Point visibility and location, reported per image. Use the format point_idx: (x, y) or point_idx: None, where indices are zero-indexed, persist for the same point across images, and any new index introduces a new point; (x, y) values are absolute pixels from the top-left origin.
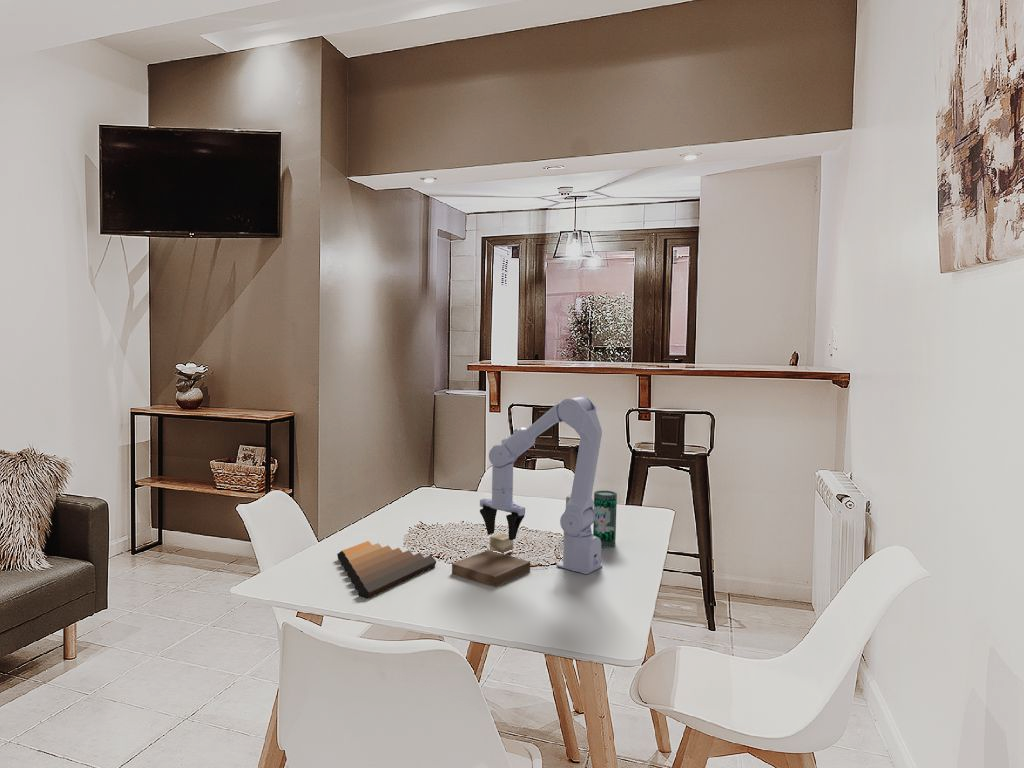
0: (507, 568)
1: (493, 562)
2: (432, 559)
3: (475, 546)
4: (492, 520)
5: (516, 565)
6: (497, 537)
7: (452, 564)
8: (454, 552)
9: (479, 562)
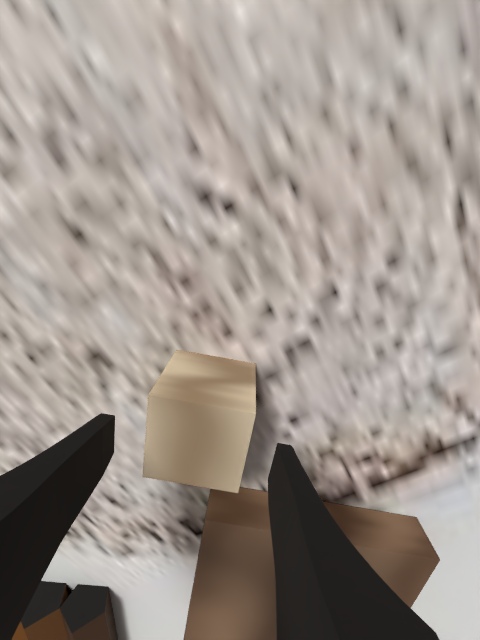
0: None
1: None
2: (93, 626)
3: (65, 378)
4: (52, 505)
5: None
6: (185, 469)
7: None
8: None
9: (255, 621)
